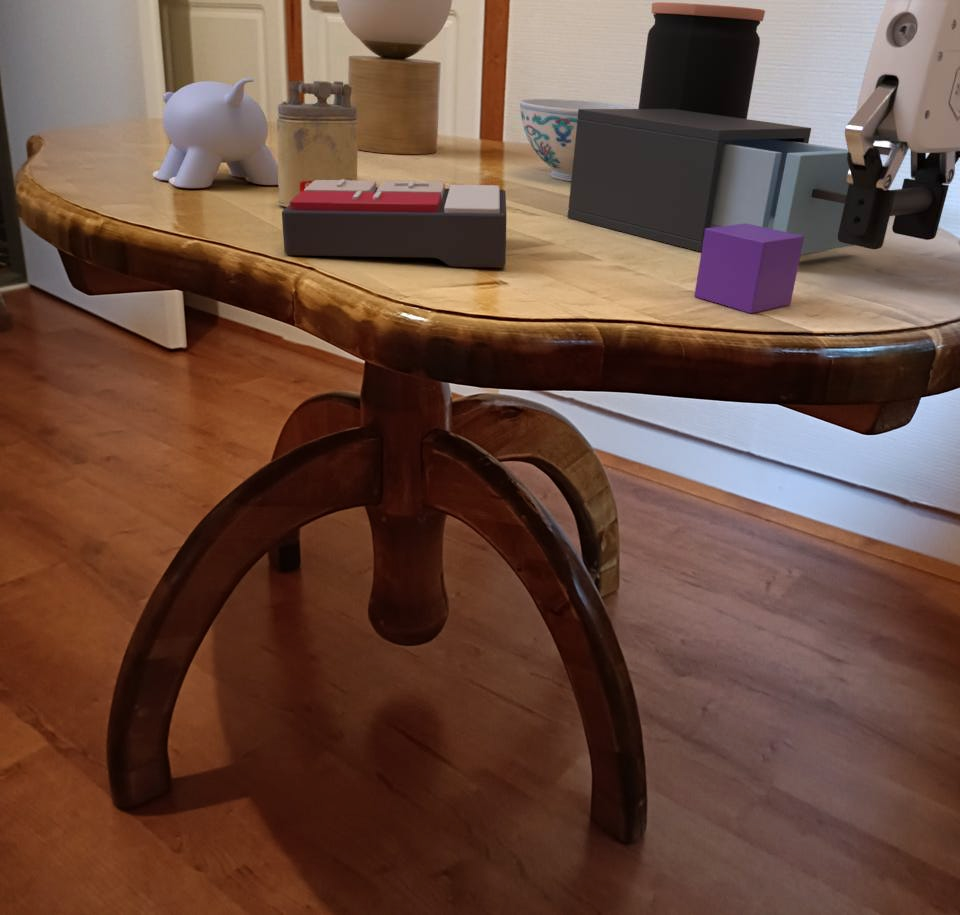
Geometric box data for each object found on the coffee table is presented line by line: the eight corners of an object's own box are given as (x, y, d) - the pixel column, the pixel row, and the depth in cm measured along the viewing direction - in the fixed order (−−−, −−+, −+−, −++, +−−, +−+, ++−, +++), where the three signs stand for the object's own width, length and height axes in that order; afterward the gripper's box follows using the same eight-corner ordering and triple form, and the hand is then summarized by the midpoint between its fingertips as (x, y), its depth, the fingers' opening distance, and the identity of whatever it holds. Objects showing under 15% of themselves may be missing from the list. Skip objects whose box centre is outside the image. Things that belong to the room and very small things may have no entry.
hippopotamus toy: (234, 165, 100) (230, 66, 96) (302, 189, 89) (301, 79, 85) (130, 168, 93) (121, 63, 89) (190, 194, 83) (183, 76, 79)
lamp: (332, 136, 128) (332, -77, 118) (436, 141, 131) (446, -66, 121) (337, 151, 115) (339, -88, 104) (454, 156, 117) (466, -76, 107)
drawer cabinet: (789, 238, 83) (811, 127, 79) (700, 252, 75) (720, 130, 71) (658, 208, 92) (672, 108, 89) (567, 217, 85) (578, 108, 81)
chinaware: (519, 184, 101) (525, 106, 97) (510, 164, 114) (515, 95, 111) (660, 193, 101) (671, 116, 98) (634, 172, 115) (643, 104, 112)
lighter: (288, 211, 79) (286, 81, 75) (269, 203, 82) (266, 77, 78) (364, 207, 83) (366, 83, 79) (344, 199, 86) (345, 79, 82)
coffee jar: (741, 200, 101) (774, 12, 94) (720, 213, 92) (755, 7, 85) (643, 187, 105) (667, 5, 97) (614, 199, 96) (638, 0, 88)
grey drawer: (931, 260, 73) (956, 161, 70) (854, 276, 66) (879, 167, 63) (722, 214, 86) (737, 129, 83) (640, 223, 79) (652, 131, 76)
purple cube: (733, 288, 65) (745, 222, 63) (790, 304, 62) (804, 236, 60) (693, 296, 62) (704, 228, 60) (751, 313, 59) (764, 242, 57)
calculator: (309, 175, 73) (505, 178, 73) (312, 232, 75) (504, 235, 75) (279, 199, 63) (507, 203, 63) (283, 264, 65) (505, 268, 65)
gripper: (947, -45, 55) (874, 263, 62) (1064, -20, 65) (989, 241, 73) (829, -45, 60) (774, 240, 67) (955, -22, 70) (896, 222, 78)
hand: (887, 238), depth 70 cm, fingers closed on grey drawer, 7 cm apart
